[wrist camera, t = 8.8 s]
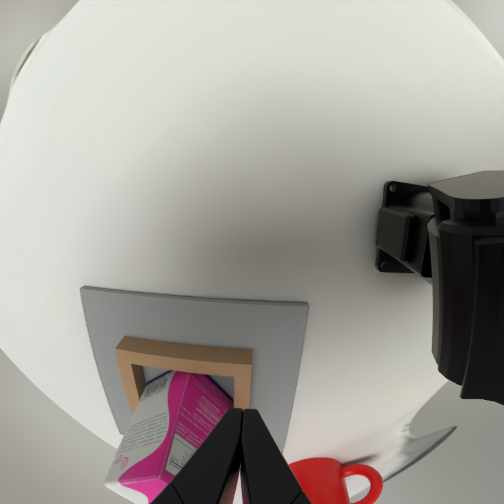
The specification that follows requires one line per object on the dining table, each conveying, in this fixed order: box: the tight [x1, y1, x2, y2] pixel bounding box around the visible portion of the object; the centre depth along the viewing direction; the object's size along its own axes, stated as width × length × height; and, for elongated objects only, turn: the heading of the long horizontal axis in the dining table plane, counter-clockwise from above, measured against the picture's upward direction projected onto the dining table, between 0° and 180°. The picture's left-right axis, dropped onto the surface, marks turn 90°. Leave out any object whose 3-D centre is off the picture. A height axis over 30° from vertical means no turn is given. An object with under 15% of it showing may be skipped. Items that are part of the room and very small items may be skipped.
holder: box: [80, 286, 309, 455], centre depth 22 cm, size 18×18×3 cm
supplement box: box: [104, 370, 234, 504], centre depth 17 cm, size 6×6×12 cm
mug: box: [289, 458, 383, 504], centre depth 23 cm, size 8×12×8 cm, turn 112°
